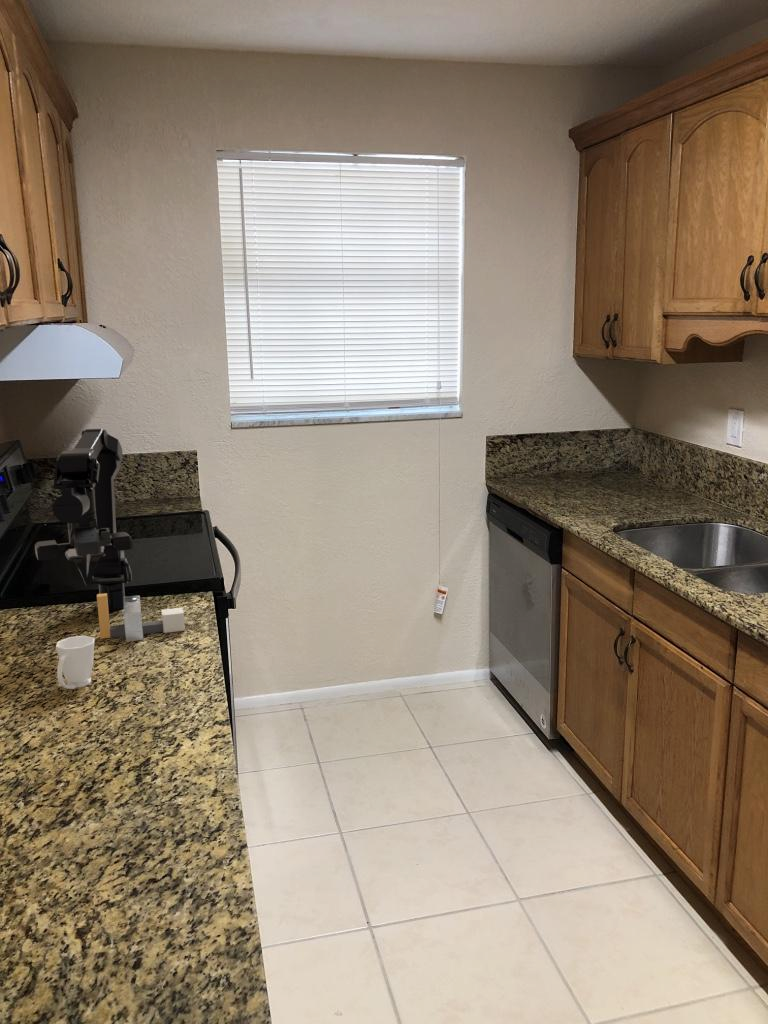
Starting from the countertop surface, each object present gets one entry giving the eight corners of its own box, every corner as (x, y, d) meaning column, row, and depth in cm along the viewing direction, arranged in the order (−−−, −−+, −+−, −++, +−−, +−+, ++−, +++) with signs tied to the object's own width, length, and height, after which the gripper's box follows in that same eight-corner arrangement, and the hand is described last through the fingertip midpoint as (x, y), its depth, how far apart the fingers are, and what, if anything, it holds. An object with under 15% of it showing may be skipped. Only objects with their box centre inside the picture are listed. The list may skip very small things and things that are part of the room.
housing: (126, 641, 174) (123, 612, 173) (125, 623, 185) (123, 596, 184) (143, 639, 175) (140, 610, 174) (141, 621, 186) (139, 594, 185)
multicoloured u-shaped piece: (100, 640, 174) (96, 598, 173) (100, 634, 178) (97, 592, 176) (185, 630, 180) (182, 589, 178) (183, 624, 183) (180, 584, 181)
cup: (105, 676, 156) (102, 635, 154) (80, 698, 146) (75, 655, 145) (71, 674, 157) (67, 634, 155) (43, 696, 147) (38, 654, 146)
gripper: (36, 525, 159) (44, 602, 162) (135, 514, 167) (140, 588, 171) (31, 515, 169) (39, 588, 172) (124, 505, 177) (130, 575, 180)
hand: (88, 585), depth 174 cm, fingers closed
